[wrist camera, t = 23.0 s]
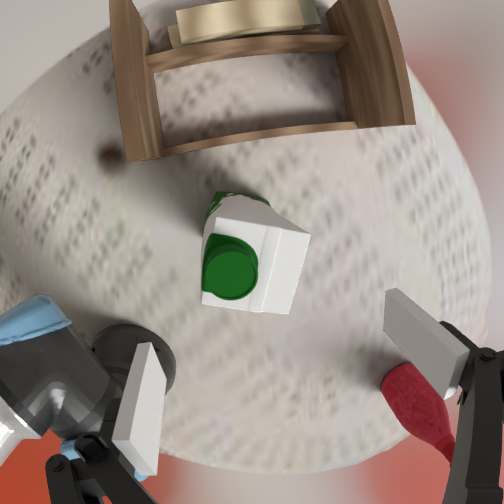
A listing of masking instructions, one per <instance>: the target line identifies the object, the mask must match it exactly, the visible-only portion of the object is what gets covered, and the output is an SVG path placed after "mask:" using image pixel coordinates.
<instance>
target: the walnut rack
mask: <svg viewBox="0 0 504 504" xmlns="http://www.w3.org/2000/svg"><path fill="white" fill-rule="evenodd" d="M109 11H110V31H111V45H112V57H113V67H114V77H115V85H116V93H117V101H118V108H119V115H120V121H121V127H122V133H123V139H124V145H125V150H126V156H127V161H128V163H131V162H138V161H145V160H153V159H159V158H163V157H167V156H172V155H176V154H181V153H185V152H190V151H195V150H200V149H205V148H210V147H215V146H221V145H226V144H232V143H238V142H244V141H250V140H257V139H264V138H271V137H279V136H287V135H295V134H304V133H314V132H325V131H337V130H351V129H364V128H375V127H387V126H401V125H416V121H415V114H414V107H413V100H412V94H411V89H410V83H409V78H408V73H407V68H406V64H405V59H404V55H403V51H402V47H401V43H400V39H399V35H398V31H397V28H396V24H395V21H394V18H393V15H392V11H391V8H390V5H389V2H388V0H338V1H337V2H336V3H335V4H334V5H333V6H332V7H331V8H330V9H329V10H328V11H327V12H326V16H327V19H328V23H329V27H330V31H331V35H278V36H262V37H250V38H240V39H232V40H224V41H217V42H210V43H204V44H198V45H193V46H188V47H183V48H178V49H173V50H169V51H164V52H160V53H156V54H152V55H151V51H150V43H149V34H148V30H147V28H146V26H145V24H144V22H143V20H142V19H141V17H140V15H139V13H138V11H137V9H136V7H135V6H134V4H133V2H132V0H109ZM301 52H335V53H336V57H337V62H338V67H339V72H340V77H341V82H342V87H343V93H344V98H345V104H346V110H347V117H348V122H338V123H324V124H312V125H302V126H292V127H284V128H276V129H268V130H261V131H254V132H247V133H241V134H234V135H228V136H223V137H217V138H212V139H206V140H201V141H196V142H191V143H187V144H182V145H177V146H173V147H169V148H165V143H164V138H163V132H162V126H161V120H160V114H159V108H158V101H157V95H156V88H155V81H154V74H153V73H156V72H160V71H165V70H169V69H173V68H178V67H183V66H188V65H193V64H198V63H204V62H209V61H216V60H222V59H229V58H237V57H245V56H255V55H266V54H280V53H301Z"/></svg>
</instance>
